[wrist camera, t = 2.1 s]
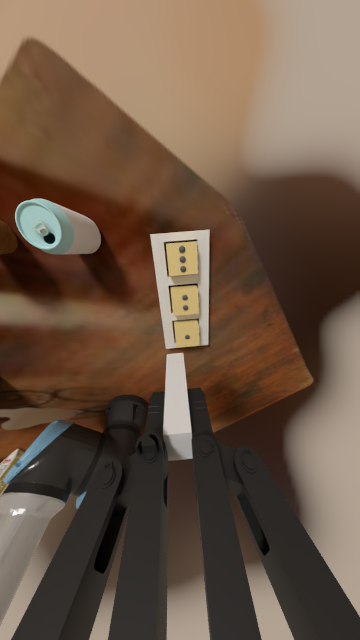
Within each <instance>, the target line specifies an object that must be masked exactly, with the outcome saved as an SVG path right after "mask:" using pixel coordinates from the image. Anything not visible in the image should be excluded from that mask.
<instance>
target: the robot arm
mask: <svg viewBox="0 0 360 640" xmlns="http://www.w3.org/2000/svg"><path fill="white" fill-rule="evenodd" d="M145 423H146V426H145V433H144V434H143V435H141V432H142V430H143V428H144V425H145ZM140 435H141V436H140ZM191 458H193V465H194V479H195V487H196V498H197V508H198V519H199V529H200V539H201V550H202V560H203V570H204V581H205V591H206V601H207V612H208V621H209V632H210V640H261V636H260V632H259V627H258V623H257V618H256V614H255V609H254V605H253V601H252V596H251V592H250V587H249V583H248V579H247V574H246V570H245V566H244V561H243V557H242V553H241V548H240V544H239V539H238V535H237V531H236V526H235V522H234V518H233V513H232V509H231V504H230V500H229V496H228V493H230V494H233V495H234V496H235V499H236V501H237V504H238V506H239V508H240V511H241V513H242V515H243V518H244V520H245V523H246V525H247V527H248V529H249V532H250V535H251V537H252V539H253V542H254V544H255V546H256V549H257V551H258V554H259V556H260V558H261V561H262V563H263V565H264V568H265V570H266V573H267V575H268V578H269V580H270V582H271V585H272V587H273V589H274V592H275V594H276V597H277V599H278V601H279V604H280V606H281V609H282V611H283V613H284V616H285V618H286V621H287V623H288V625H289V628H290V630H291V632H292V635H293V637H294V640H360V617H359V615H358V614H357V612H356V610H355V609H354V607H353V605H352V604H351V602H350V601H349V599H348V598H347V596H346V594H345V593H344V591H343V589H342V588H341V586H340V585H339V583H338V581H337V580H336V578H335V577H334V575H333V573H332V572H331V570H330V569H329V567H328V565H327V564H326V562H325V561H324V559H323V557H322V556H321V554H320V553H319V551H318V549H317V548H316V546H315V545H314V543H313V541H312V540H311V538H310V537H309V535H308V533H307V532H306V530H305V529H304V527H303V525H302V524H301V522H300V521H299V519H298V517H297V516H296V514H295V513H294V511H293V509H292V508H291V506H290V505H289V503H288V501H287V500H286V498H285V497H284V495H283V493H282V492H281V490H280V489H279V487H278V485H277V484H276V482H275V481H274V479H273V477H272V476H271V475H270V473H269V471H268V469H267V468H266V466H265V465H264V463H263V461H262V460H261V458H260V457H259V456H258V454H257V453H256V452H255V451H254V450H252V449H251V448H249V447H245V446H244V447H239V448H238V449H234V448H231V447H227V446H225V445H223V444H221V443H220V442H219V441H218V440H217V439H216V438H215V436H214V435H213V431H212V427H211V423H210V418H209V414H208V409H207V405H206V401H205V396H204V393H203V392H202V390H201V389H200V388H193V389H187V384H186V375H185V366H184V356H183V353H176V354H167V364H166V384H165V392H154V393H153V394H152V396H151V398H150V400H149V405H148V403H147V402H146V401H145V400H143V399H142V398H140V397H137V396H133V395H121V396H118V397H115V398H113V399H112V400H111V401H110V402H109V404H108V406H107V409H106V413H105V426H104V431H103V433H101V432H98V431H95V430H92V429H89V428H86V427H83V426H80V425H77V424H75V423H74V422H72V423H71V422H67V421H63V420H56V421H54V422H52V423H51V424H50V425H49V426H48V427H47V428H46V429H45V430H44V431H43V432H42V433H41V434H40V435H39V436H38V438H37V439H36V440H35V441H34V442H33V443H32V444H31V446H30V447H29V448H28V449H27V450H26V452H25V453H24V454H23V455H22V456H21V458H20V459H19V460H18V461H17V462H16V464H15V465H14V466H13V467H12V468H11V470H10V471H9V472H8V473H7V475H6V476H5V477H4V479H3V482H4V483H5V484H6V485H7V484H9V485H8V486H7V488H6V489H5V491H4V492H3V494H2V495H1V496H0V625H1V623H2V621H3V619H4V616H5V614H6V612H7V610H8V608H9V606H10V603H11V601H12V599H13V597H14V595H15V593H16V591H17V589H18V587H19V585H20V582H21V580H22V578H23V576H24V574H25V572H26V570H27V567H28V565H29V563H30V561H31V559H32V557H33V555H34V552H35V550H36V548H37V546H38V544H39V542H40V540H41V538H42V535H43V533H44V531H45V529H46V527H47V525H48V523H49V520H50V519H51V518H52V517H53V516H54V515H55V514H57V512H59V511H60V510H61V509H62V508H63V507H64V506H65V504H66V501H67V499H68V497H69V495H75V496H78V498H77V500H76V509H78V510H77V512H76V514H75V516H74V518H73V520H72V522H71V524H70V526H69V528H68V529H67V532H66V533H65V535H64V537H63V539H62V541H61V543H60V545H59V547H58V549H57V551H56V553H55V555H54V557H53V559H52V561H51V563H50V565H49V567H48V569H47V571H46V573H45V575H44V577H43V578H42V580H41V583H40V584H39V586H38V588H37V590H36V593H35V594H34V596H33V598H32V600H31V602H30V604H29V606H28V608H27V610H26V612H25V614H24V616H23V618H22V620H21V622H20V624H19V626H18V628H17V630H16V631H15V633H14V635H13V637H12V639H11V640H89V638H90V634H91V631H92V628H93V624H94V622H95V618H96V615H97V612H98V609H99V605H100V602H101V599H102V595H103V593H104V589H105V586H106V583H107V580H108V577H109V573H110V570H111V567H112V563H113V560H114V557H115V554H116V551H117V548H118V545H119V541H120V538H121V535H122V531H123V528H124V525H125V522H126V519H127V516H128V521H127V527H126V533H125V539H124V546H123V551H122V557H121V564H120V570H119V576H118V582H117V588H116V594H115V600H114V607H113V612H112V618H111V624H110V631H109V637H108V640H166V631H167V629H166V628H167V559H168V557H167V556H168V485H169V481H168V480H169V477H168V476H169V474H168V461H171V460H181V459H191ZM128 513H129V515H128Z"/></svg>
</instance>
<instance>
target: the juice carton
mask: <svg viewBox="0 0 360 640" xmlns="http://www.w3.org/2000/svg"><path fill="white" fill-rule="evenodd" d="M25 452H26V451H24V450H22V449H17V450H15V451H14V452H13V453H11V454H10V455H9V456H8V457H7V458H5V459H4V460H3V461H2V463H1V464H0V496H1V495H2V494H3V492H4V491H5V489H6V488H7V486H8V485H9V484H7V485H6V484H5V483H4V482H3V479H4V477H5V476H6V475H7V473H8V472H9V471H10V470H11V468H12V467H13V466H14V465H15V464H16V462H17V461H18V460H19V459H20V458H21V456H22V455H23V454H24V453H25Z"/></svg>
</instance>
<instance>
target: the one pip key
mask: <svg viewBox="0 0 360 640" xmlns="http://www.w3.org/2000/svg"><path fill="white" fill-rule="evenodd" d="M174 329H175V339H176V348H180V347H191V346H199V336H200V333H199V324H198V321H197V319H193V320H182V321H174Z"/></svg>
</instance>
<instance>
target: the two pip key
mask: <svg viewBox="0 0 360 640" xmlns="http://www.w3.org/2000/svg"><path fill="white" fill-rule="evenodd" d="M198 298H199V293H198V287H197V286H196V285H189V286H178V287H171V299H172V309H173V316H179V315H190V314H199V301H198Z"/></svg>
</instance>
